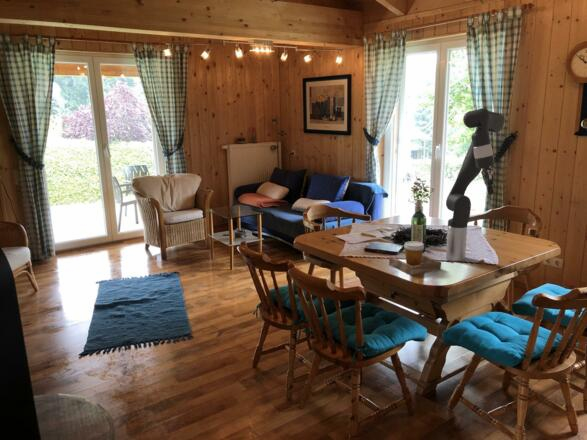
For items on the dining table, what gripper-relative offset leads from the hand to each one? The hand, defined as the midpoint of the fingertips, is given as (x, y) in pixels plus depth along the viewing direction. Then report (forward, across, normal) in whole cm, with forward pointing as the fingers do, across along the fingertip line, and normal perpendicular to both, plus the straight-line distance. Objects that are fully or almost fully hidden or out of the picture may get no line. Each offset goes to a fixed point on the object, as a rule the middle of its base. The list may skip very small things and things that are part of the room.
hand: (491, 194), depth 204 cm
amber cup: (+29, +8, +39) cm, 50 cm away
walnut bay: (+29, +8, +39) cm, 49 cm away
